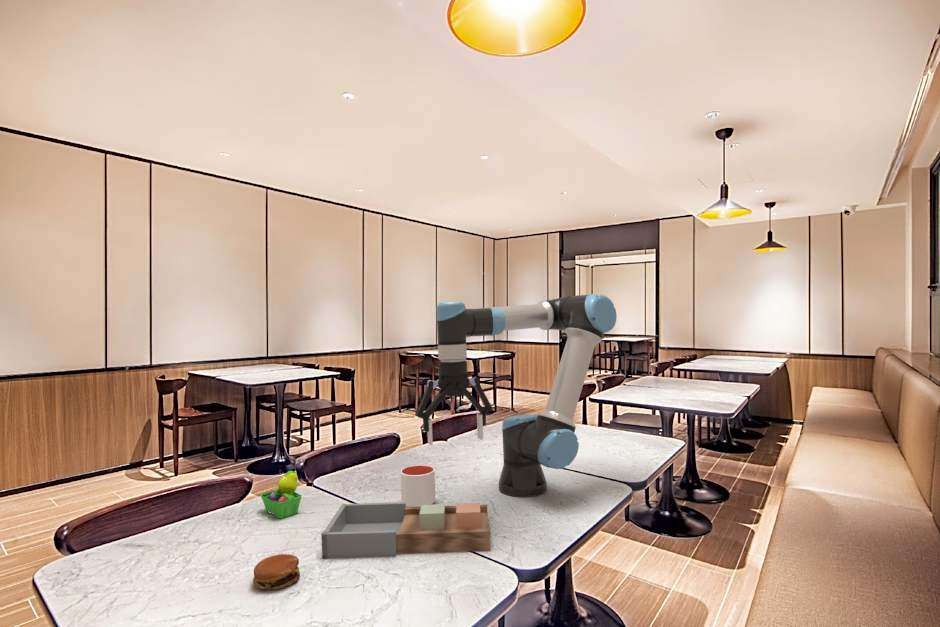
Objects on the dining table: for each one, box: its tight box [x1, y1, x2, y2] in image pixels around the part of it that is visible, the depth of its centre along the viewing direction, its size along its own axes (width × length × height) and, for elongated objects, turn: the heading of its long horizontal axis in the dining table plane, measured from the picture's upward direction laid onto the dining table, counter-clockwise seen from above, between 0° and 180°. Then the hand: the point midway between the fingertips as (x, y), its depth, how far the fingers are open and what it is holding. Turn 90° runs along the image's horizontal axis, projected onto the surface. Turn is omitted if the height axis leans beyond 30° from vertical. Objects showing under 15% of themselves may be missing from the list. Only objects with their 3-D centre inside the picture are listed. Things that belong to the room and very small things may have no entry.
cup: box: [400, 464, 436, 507], centre depth 151 cm, size 10×10×10 cm
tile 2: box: [455, 502, 481, 529], centre depth 128 cm, size 6×6×4 cm
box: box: [321, 501, 406, 559], centre depth 128 cm, size 17×19×6 cm
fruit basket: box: [260, 470, 303, 519], centre depth 148 cm, size 11×9×11 cm
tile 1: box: [419, 503, 446, 530], centre depth 128 cm, size 6×6×4 cm
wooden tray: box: [396, 504, 491, 555], centre depth 128 cm, size 22×17×4 cm
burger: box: [252, 553, 301, 590], centre depth 109 cm, size 10×9×5 cm
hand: (455, 441), depth 134 cm, fingers open, 13 cm apart
